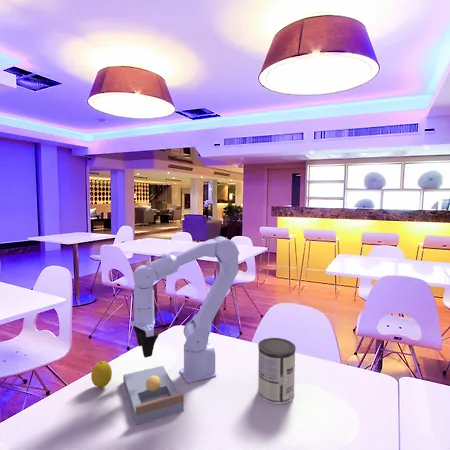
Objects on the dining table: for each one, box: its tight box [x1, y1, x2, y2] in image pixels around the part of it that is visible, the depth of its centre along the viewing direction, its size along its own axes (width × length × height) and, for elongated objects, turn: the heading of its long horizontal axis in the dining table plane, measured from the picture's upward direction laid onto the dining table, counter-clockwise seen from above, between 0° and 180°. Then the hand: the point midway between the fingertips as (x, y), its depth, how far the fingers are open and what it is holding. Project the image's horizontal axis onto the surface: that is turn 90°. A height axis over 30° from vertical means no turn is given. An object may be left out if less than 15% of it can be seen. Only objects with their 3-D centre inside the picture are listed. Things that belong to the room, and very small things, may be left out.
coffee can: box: [257, 337, 296, 405], centre depth 91 cm, size 10×10×14 cm
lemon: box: [90, 360, 113, 389], centre depth 93 cm, size 6×6×8 cm
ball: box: [146, 376, 161, 392], centre depth 88 cm, size 4×4×4 cm
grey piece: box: [122, 365, 185, 425], centre depth 89 cm, size 12×20×4 cm, turn 26°
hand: (144, 350), depth 96 cm, fingers open, 7 cm apart
